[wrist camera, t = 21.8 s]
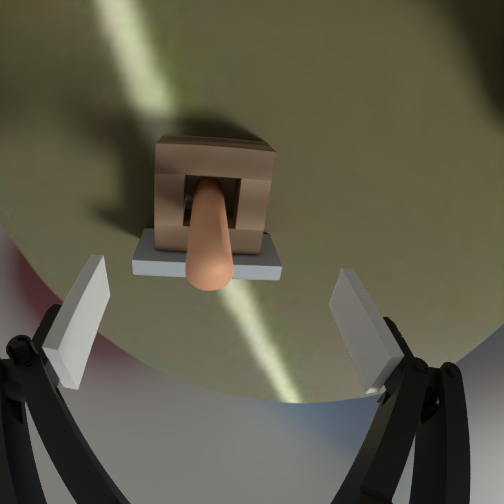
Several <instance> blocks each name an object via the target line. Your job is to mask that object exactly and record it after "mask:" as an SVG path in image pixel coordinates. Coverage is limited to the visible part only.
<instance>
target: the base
mask: <svg viewBox="0 0 504 504" xmlns="http://www.w3.org/2000/svg"><path fill="white" fill-rule="evenodd" d="M186 256H187V251H168V250H155V230H154V229H153V228H144V230H143V233H142V235H141V238H140V240H139V243H138V245H137V248H136V251H135V253H134V256H133V259H132V266H133V274H134V275H152V276H172V277H186V274H185V266H186ZM232 260H233V267H234V274H233V277H232V279H251V280H279V279H280V275H281V270H282V265H281V262H280V259H279V257H278V254H277V252H276V249H275V246H274V244H273V241H272V239H271V236H270V234H263V237H262V243H261V249H260V255H257V254H234V253H232Z"/></svg>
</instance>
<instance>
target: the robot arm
mask: <svg viewBox="0 0 504 504" xmlns="http://www.w3.org/2000/svg"><path fill="white" fill-rule="evenodd" d="M109 298H110V291H109V286H108V280H107V274H106V268H105V262H104V255H92V254H91V255H90V257H89V259H88V260H87V262H86V264H85V265H84V267H83V269H82V270H81V272H80V274H79V275H78V277H77V279H76V281H75V283H74V284H73V286H72V288H71V290H70V292H69V293H68V295H67V297H66V299H65V301H64V303H63V305H58V304H54V305H53V306H52V307H50V308H49V309H48V310H47V312H46V314H45V315H44V317H43V320H42V321H41V323H40V326H39V327H38V329H37V331H36V333H35V335H34V337H33V339H32V340H31V339H30V338H29V337H28V336H26V335H18V336H15V337H14V338H12V339H11V340H10V341H9V342H8V344H7V347H6V353H7V354H8V356H9V358H10V359H1V358H0V504H47V502H46V500H45V496H44V493H43V490H42V486H41V483H40V480H39V477H38V472H37V468H36V464H35V460H34V455H33V451H32V446H31V441H30V435H29V430H28V423H27V416H26V409H25V402H26V403H27V406H28V408H29V411H30V413H31V416H32V418H33V421H34V423H35V426H36V428H37V430H38V433H39V435H40V437H41V439H42V442H43V444H44V446H45V448H46V450H47V452H48V454H49V456H50V458H51V460H52V462H53V464H54V465H55V467H56V469H57V471H58V473H59V475H60V476H61V478H62V480H63V482H64V483H65V485H66V487H67V488H68V490H69V491H70V493H71V495H72V496H73V498H74V499H75V501H76V503H77V504H130V502H129V501H128V500H127V499H126V498H125V496H124V495H123V494H122V492H121V491H120V490H119V489H118V487H117V486H116V484H115V483H114V482H113V480H112V479H111V478H110V476H109V475H108V474H107V472H106V471H105V469H104V468H103V466H102V465H101V463H100V462H99V460H98V459H97V458H96V456H95V454H94V453H93V451H92V449H91V448H90V446H89V445H88V443H87V441H86V440H85V438H84V436H83V435H82V433H81V431H80V429H79V428H78V426H77V424H76V422H75V420H74V418H73V417H72V415H71V413H70V411H69V409H68V407H67V405H66V403H65V401H64V399H63V397H62V395H61V393H60V391H59V389H58V387H57V386H58V382H59V380H60V381H61V383H62V385H63V386H64V387H67V388H72V389H77V390H78V389H79V385H80V381H81V378H82V375H83V372H84V368H85V365H86V362H87V358H88V356H89V353H90V350H91V347H92V343H93V341H94V338H95V335H96V332H97V329H98V327H99V324H100V321H101V318H102V316H103V313H104V310H105V308H106V305H107V303H108V300H109ZM328 306H329V308H330V310H331V313H332V315H333V317H334V319H335V322H336V324H337V326H338V329H339V331H340V333H341V336H342V338H343V340H344V343H345V345H346V347H347V350H348V352H349V354H350V357H351V359H352V362H353V364H354V366H355V369H356V371H357V374H358V376H359V379H360V381H361V383H362V386H363V388H364V391H365V393H372V392H377V391H379V390H380V389H381V387H382V386H383V385H385V388H386V391H385V392H384V393H383V395H382V396H381V397H380V398H379V400H378V401H377V402H378V403H379V402H380V401H381V402H380V404H379V407H378V409H377V412H376V414H375V417H374V419H373V422H372V424H371V426H370V429H369V431H368V433H367V435H366V438H365V440H364V442H363V444H362V446H361V448H360V450H359V453H358V455H357V457H356V459H355V461H354V463H353V465H352V467H351V469H350V471H349V472H348V474H347V476H346V478H345V480H344V482H343V483H342V485H341V487H340V489H339V491H338V493H337V494H336V496H335V497H334V499H333V501H332V502H331V504H393V503H392V497H393V495H394V493H395V490H396V487H397V485H398V483H399V480H400V478H401V475H402V472H403V469H404V467H405V464H406V461H407V458H408V455H409V452H410V449H411V446H412V443H413V439H414V436H415V453H414V466H413V476H412V485H411V494H410V500H409V504H469V502H470V443H469V428H468V418H467V409H466V401H465V393H464V387H463V381H462V375H461V371H460V369H459V368H458V367H457V366H456V365H455V364H454V363H451V362H445V363H443V365H442V366H441V367H440V368H433V367H428V365H427V363H426V362H425V361H423V360H422V359H420V358H417V357H414V356H413V354H412V352H411V350H410V349H409V347H408V345H407V344H406V342H405V340H404V338H402V335H401V333H400V332H399V330H398V328H397V327H396V325H395V323H394V322H393V321H391V320H390V319H389V318H388V317H382V316H381V314H380V312H379V311H378V309H377V307H376V306H375V304H374V302H373V301H372V299H371V297H370V296H369V294H368V293H367V291H366V289H365V288H364V286H363V284H362V283H361V281H360V280H359V278H358V277H357V275H356V273H355V272H354V270H353V269H342V268H341V270H340V273H339V276H338V279H337V282H336V285H335V288H334V290H333V293H332V296H331V299H330V302H329V304H328ZM415 433H416V435H415Z"/></svg>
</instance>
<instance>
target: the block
mask: <svg viewBox="0 0 504 504" xmlns="http://www.w3.org/2000/svg"><path fill="white" fill-rule="evenodd" d="M275 158H276V151H275V150H274V149H273V148H272V147H271V146H270V145H269V144H268V143H267V142H261V141H252V140H242V139H231V138H219V137H204V136H185V135H164V136H163V137H162V138H161V139H160V140H159V141H158V142H157V143H156V144H155V172H154V230H155V250H168V251H187V246H188V237H189V229H190V221H191V213H192V205H193V198H194V190H195V186H196V184H197V182H198V181H199V180H201V179H202V178H205V177H213V178H216V179H217V180H218V181H220V183H221V184H222V187H223V194H224V202H225V209H226V217H227V224H228V231H229V239H230V246H231V253H234V254H257V255H260V249H261V243H262V237H263V231H264V225H265V219H266V213H267V207H268V201H269V194H270V188H271V182H272V176H273V170H274V164H275Z"/></svg>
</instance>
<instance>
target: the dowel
mask: <svg viewBox="0 0 504 504" xmlns="http://www.w3.org/2000/svg"><path fill="white" fill-rule="evenodd" d="M185 274H186V277H187V279H188V281H189V282H190V283H191V284H192V285H193V286H195V287H196V288H199V289H201V290H207V291H212V290H217V289H220V288H222V287H224V286H226V285H227V284H228V283H229V282H230V280H231V279H232V277H233V274H234V267H233V260H232V253H231V246H230V239H229V231H228V224H227V217H226V209H225V202H224V194H223V187H222V184H221V183H220V181H218V180H217V179H216V178H213V177H205V178H202V179H201V180H199V181H198V182H197V184H196V186H195V190H194V198H193V205H192V213H191V221H190V229H189V237H188V246H187V256H186V266H185Z"/></svg>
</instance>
